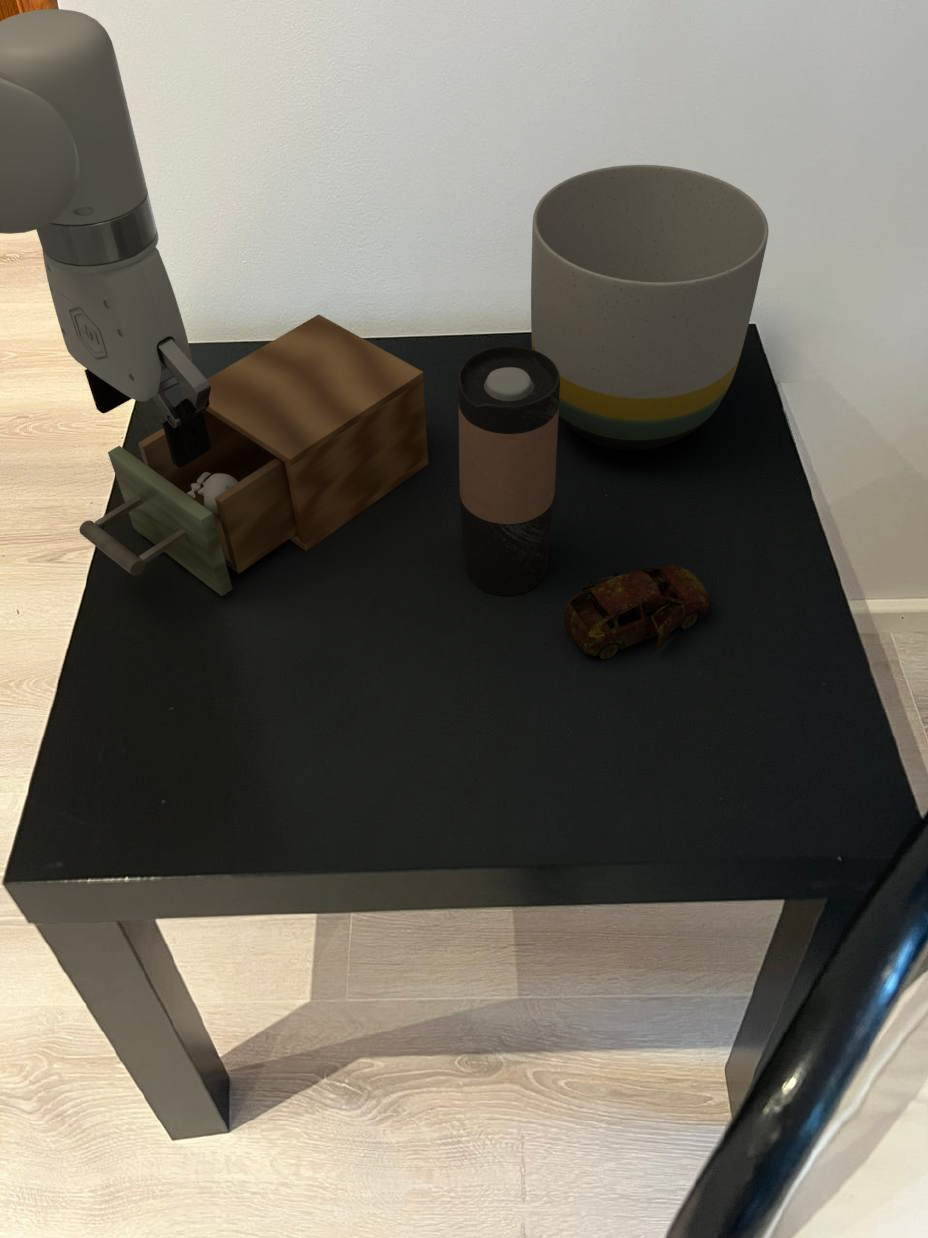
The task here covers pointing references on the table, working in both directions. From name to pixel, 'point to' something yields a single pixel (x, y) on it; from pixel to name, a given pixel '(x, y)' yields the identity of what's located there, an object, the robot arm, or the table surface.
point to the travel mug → (507, 466)
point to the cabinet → (328, 420)
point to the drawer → (200, 506)
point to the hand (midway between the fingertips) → (153, 430)
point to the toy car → (635, 609)
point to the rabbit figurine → (212, 488)
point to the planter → (643, 298)
